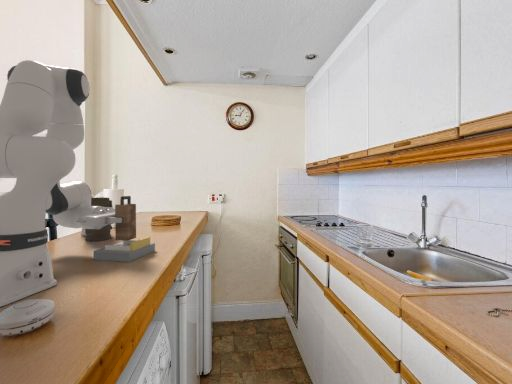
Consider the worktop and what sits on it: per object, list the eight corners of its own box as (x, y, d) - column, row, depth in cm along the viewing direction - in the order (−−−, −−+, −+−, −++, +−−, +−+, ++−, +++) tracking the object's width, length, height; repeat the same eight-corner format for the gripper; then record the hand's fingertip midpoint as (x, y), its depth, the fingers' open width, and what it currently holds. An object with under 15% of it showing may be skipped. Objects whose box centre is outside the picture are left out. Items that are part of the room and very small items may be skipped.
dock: (93, 259, 99) (93, 242, 99) (123, 248, 115) (123, 234, 115) (129, 261, 97) (129, 244, 96) (154, 250, 112) (154, 235, 112)
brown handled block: (127, 240, 103) (127, 196, 102) (115, 239, 104) (115, 196, 103) (136, 237, 108) (135, 195, 107) (124, 237, 109) (124, 195, 108)
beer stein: (102, 241, 128) (103, 197, 129) (78, 241, 128) (80, 197, 129) (119, 237, 143) (120, 197, 144) (98, 237, 144) (99, 197, 144)
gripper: (72, 212, 98) (108, 213, 95) (113, 206, 118) (143, 207, 115) (73, 230, 98) (108, 232, 95) (113, 221, 118) (143, 223, 115)
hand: (128, 218), depth 105 cm, fingers closed on brown handled block, 5 cm apart
